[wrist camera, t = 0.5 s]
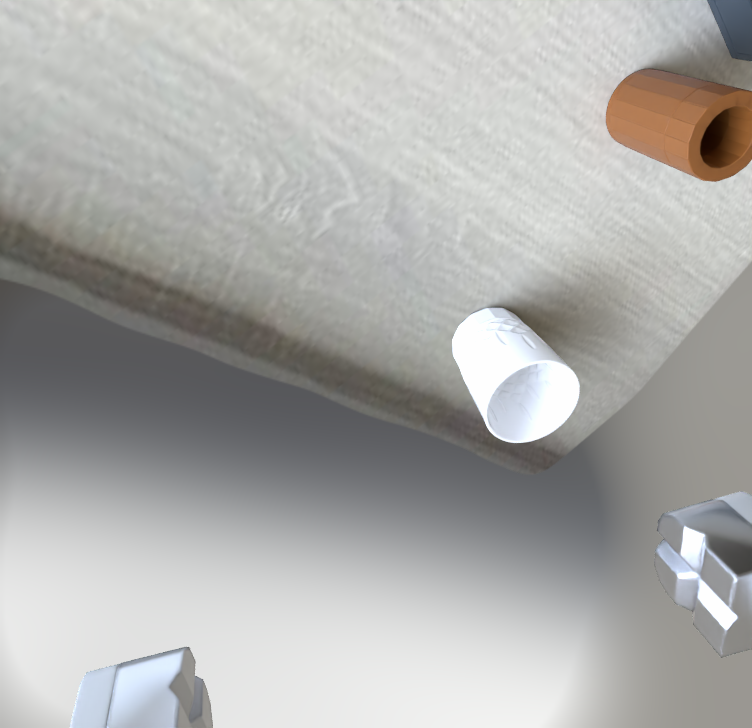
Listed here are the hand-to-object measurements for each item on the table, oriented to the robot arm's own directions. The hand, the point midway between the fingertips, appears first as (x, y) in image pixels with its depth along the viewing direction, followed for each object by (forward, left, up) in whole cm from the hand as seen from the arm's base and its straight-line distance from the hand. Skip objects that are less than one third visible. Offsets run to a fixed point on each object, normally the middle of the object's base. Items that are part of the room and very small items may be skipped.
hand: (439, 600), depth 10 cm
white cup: (+23, +12, -39) cm, 47 cm away
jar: (+7, +27, -38) cm, 47 cm away
